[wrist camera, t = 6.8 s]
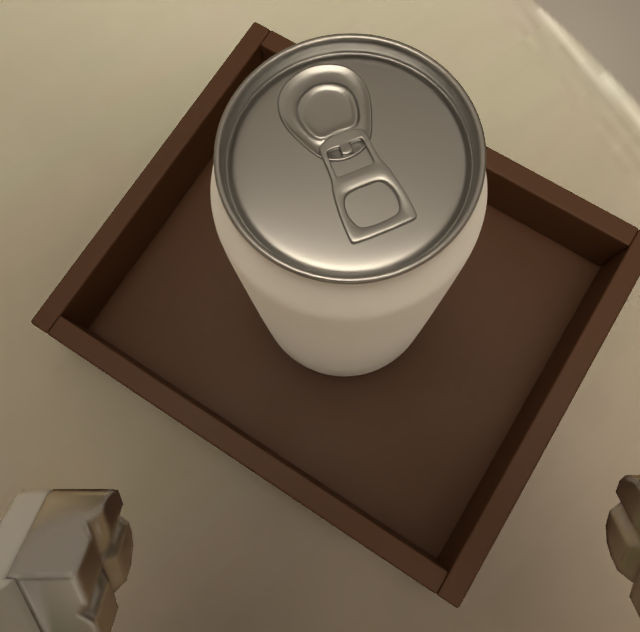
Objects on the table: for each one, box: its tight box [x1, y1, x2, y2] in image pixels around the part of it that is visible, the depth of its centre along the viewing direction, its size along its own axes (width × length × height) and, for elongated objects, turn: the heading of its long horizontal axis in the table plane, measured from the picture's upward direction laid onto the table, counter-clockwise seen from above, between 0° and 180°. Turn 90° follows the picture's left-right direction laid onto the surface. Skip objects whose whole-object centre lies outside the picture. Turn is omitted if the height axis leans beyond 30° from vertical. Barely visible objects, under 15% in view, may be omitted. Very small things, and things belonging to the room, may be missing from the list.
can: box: [210, 34, 487, 376], centre depth 18 cm, size 6×6×12 cm
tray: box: [31, 22, 640, 608], centre depth 23 cm, size 18×15×3 cm
